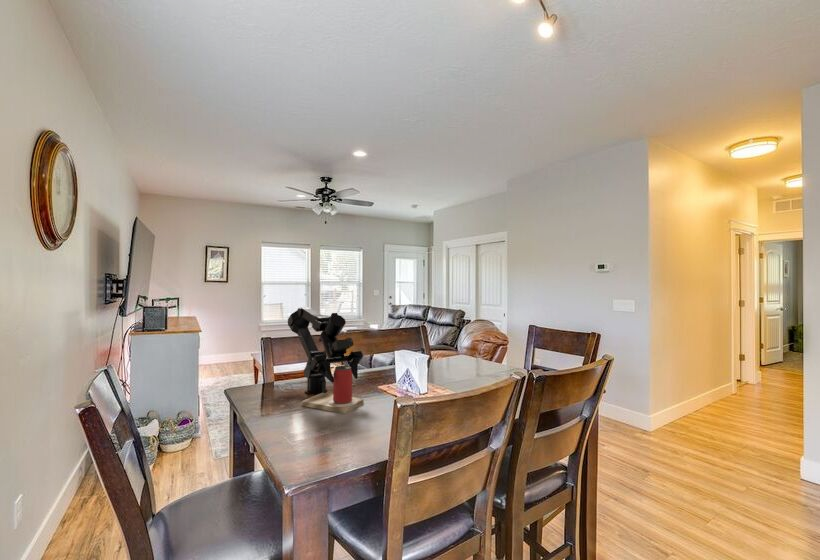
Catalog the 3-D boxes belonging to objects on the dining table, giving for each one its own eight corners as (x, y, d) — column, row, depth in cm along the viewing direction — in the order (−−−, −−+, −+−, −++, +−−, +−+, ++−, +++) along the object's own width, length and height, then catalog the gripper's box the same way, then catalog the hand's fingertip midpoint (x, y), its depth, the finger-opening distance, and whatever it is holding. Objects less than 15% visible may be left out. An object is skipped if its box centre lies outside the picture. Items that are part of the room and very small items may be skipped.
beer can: (353, 398, 141) (353, 365, 141) (350, 404, 134) (351, 369, 134) (334, 398, 140) (335, 365, 140) (331, 404, 134) (332, 369, 134)
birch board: (301, 405, 138) (301, 400, 138) (322, 396, 149) (322, 392, 149) (346, 413, 130) (346, 408, 130) (364, 403, 141) (364, 398, 141)
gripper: (314, 332, 134) (328, 370, 126) (361, 328, 146) (377, 363, 137) (304, 351, 141) (317, 389, 132) (350, 346, 152) (364, 381, 143)
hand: (345, 380), depth 136 cm, fingers open, 9 cm apart
